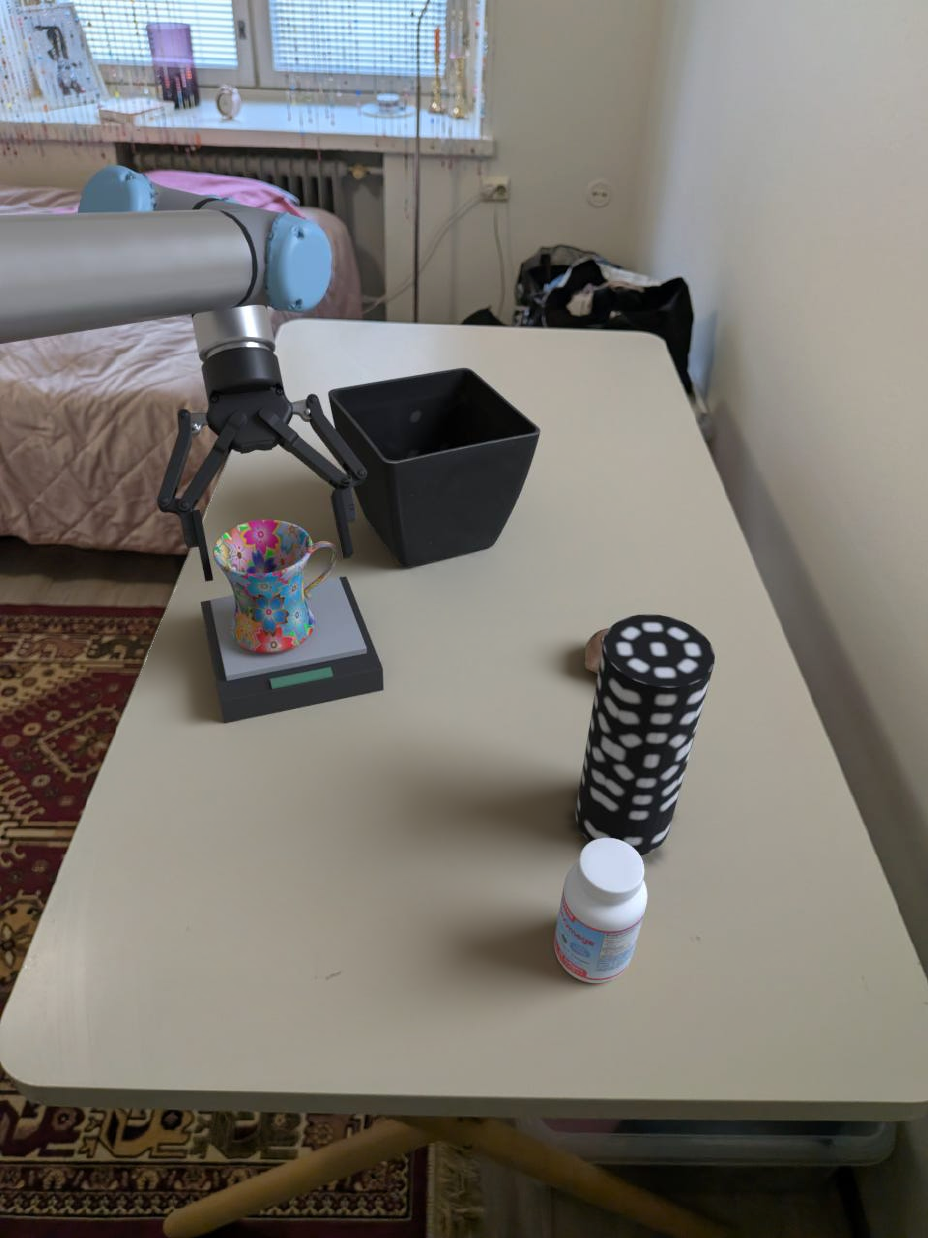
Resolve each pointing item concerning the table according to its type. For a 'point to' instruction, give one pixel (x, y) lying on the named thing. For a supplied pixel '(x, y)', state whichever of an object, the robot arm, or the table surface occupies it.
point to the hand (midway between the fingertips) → (280, 567)
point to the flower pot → (435, 460)
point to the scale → (294, 658)
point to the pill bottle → (601, 911)
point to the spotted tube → (642, 728)
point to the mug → (269, 583)
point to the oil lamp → (594, 650)
